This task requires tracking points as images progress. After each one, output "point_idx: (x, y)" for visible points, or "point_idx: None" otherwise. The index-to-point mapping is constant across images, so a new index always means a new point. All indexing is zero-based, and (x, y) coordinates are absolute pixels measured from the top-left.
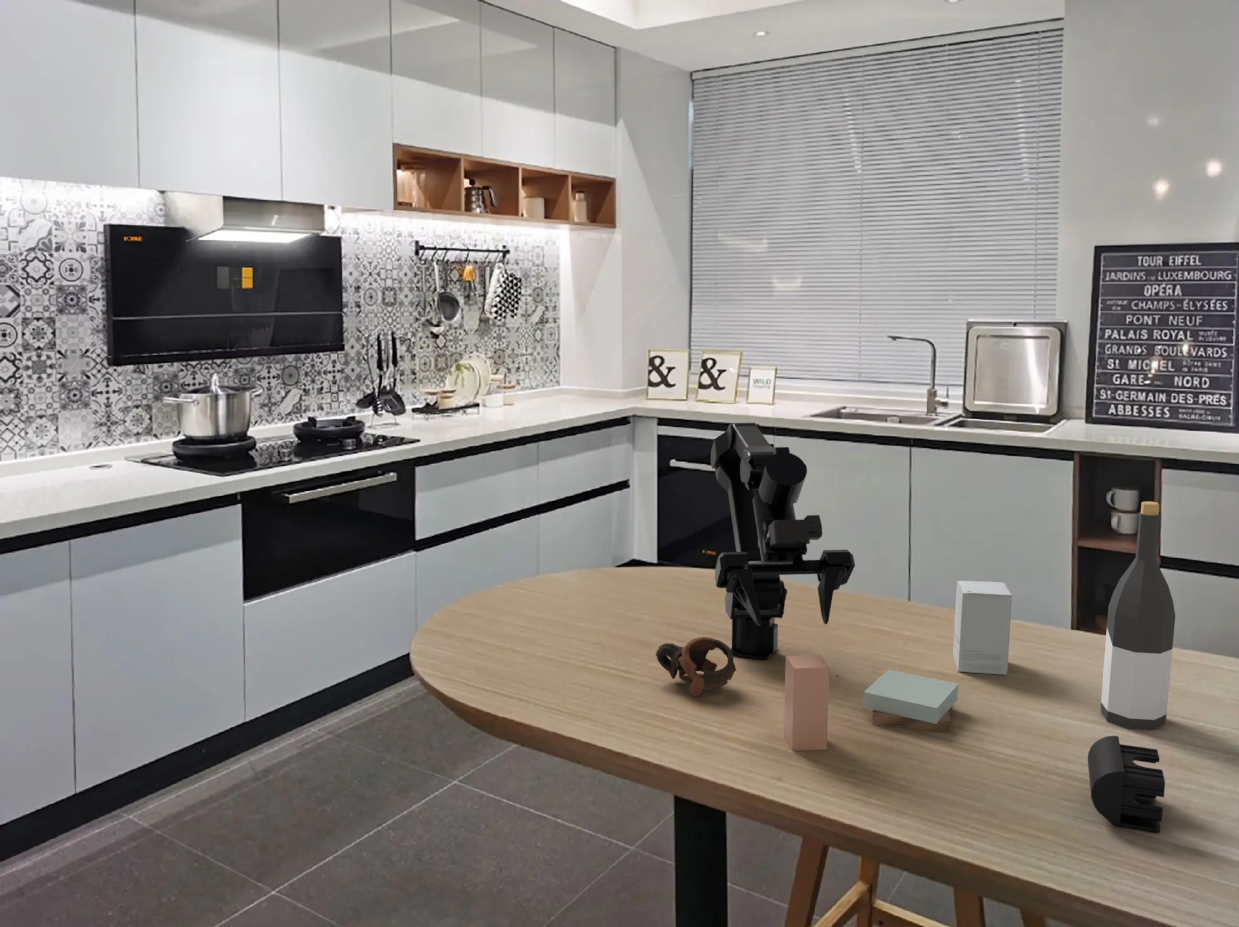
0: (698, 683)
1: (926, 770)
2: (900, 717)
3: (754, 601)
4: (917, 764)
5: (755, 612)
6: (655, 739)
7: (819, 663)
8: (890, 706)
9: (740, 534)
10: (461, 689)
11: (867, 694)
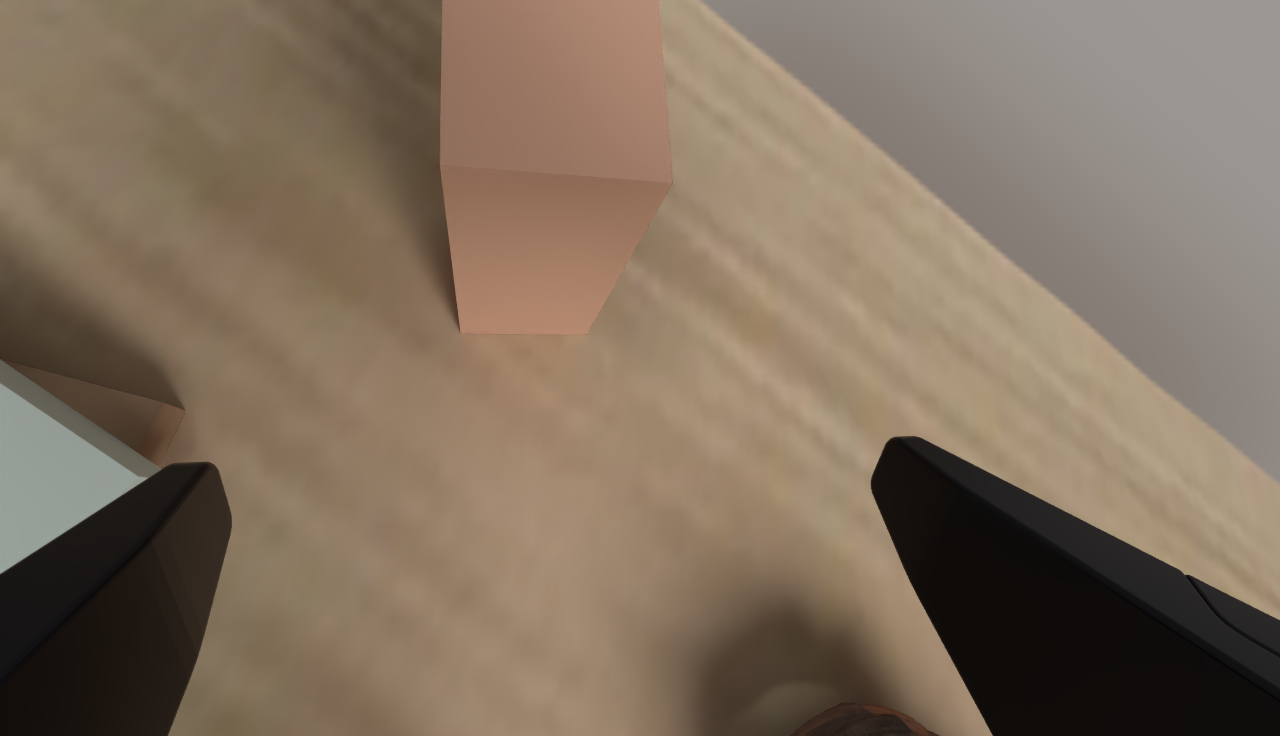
0: (895, 714)
1: (149, 24)
2: (28, 366)
3: (1105, 556)
4: (161, 67)
5: (997, 484)
6: (966, 345)
7: (487, 30)
8: (39, 396)
9: None
10: None
11: (124, 465)
